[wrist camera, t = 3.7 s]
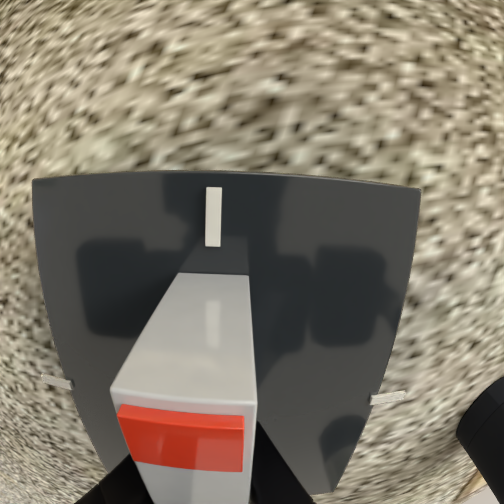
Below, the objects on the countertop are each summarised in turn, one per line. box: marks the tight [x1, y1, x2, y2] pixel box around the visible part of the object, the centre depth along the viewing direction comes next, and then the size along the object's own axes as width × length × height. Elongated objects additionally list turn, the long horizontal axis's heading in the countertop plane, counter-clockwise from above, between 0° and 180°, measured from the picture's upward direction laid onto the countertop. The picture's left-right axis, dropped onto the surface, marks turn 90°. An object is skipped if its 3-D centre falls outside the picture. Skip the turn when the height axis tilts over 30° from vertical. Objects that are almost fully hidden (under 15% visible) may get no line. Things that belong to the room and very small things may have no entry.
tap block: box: [32, 170, 421, 495], centre depth 10 cm, size 14×13×3 cm
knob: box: [110, 273, 258, 504], centre depth 6 cm, size 9×2×5 cm, turn 177°
